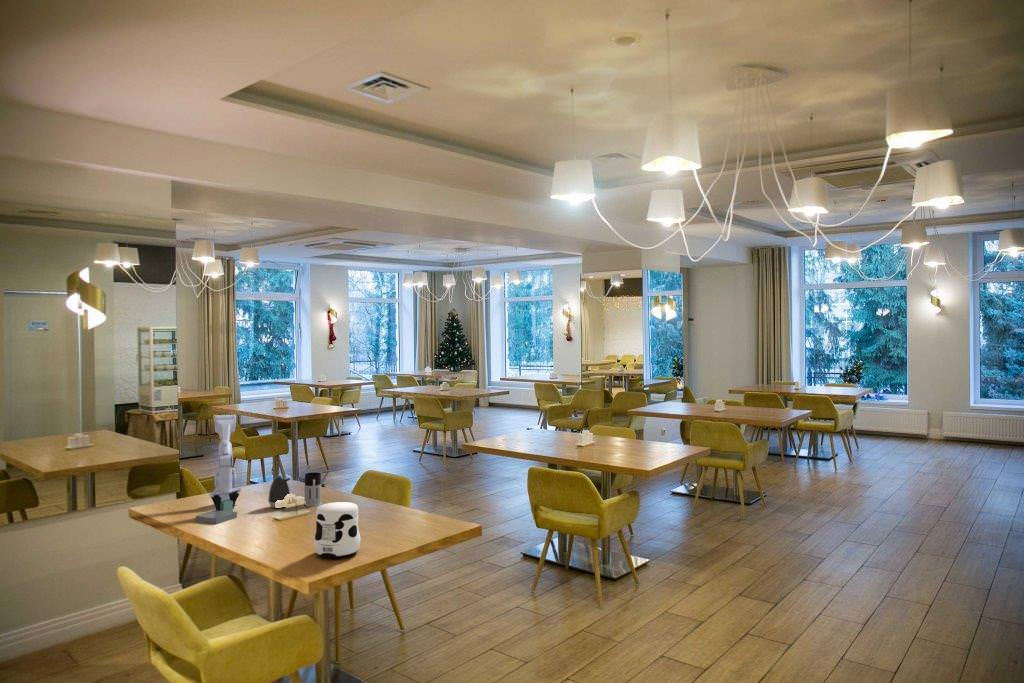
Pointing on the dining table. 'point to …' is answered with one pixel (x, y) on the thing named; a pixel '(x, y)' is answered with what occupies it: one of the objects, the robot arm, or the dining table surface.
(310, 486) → the glass holder
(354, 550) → the milk container
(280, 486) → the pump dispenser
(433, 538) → the dining table surface
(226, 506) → the teal block
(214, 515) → the slate base
